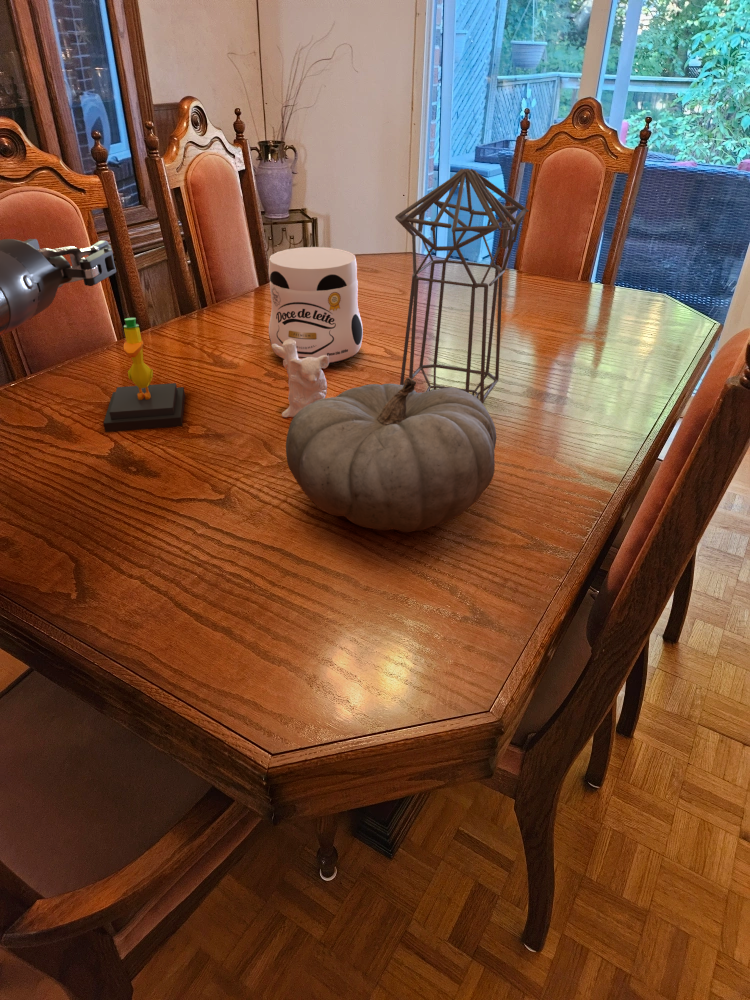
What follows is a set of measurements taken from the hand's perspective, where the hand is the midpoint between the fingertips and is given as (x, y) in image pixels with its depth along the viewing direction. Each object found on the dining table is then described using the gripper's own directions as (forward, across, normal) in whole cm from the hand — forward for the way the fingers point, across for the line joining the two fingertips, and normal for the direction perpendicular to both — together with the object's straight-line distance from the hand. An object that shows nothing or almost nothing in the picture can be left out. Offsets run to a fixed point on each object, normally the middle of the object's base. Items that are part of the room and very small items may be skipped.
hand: (71, 248), depth 79 cm
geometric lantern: (+18, +47, -28) cm, 58 cm away
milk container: (+39, +23, -28) cm, 53 cm away
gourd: (-10, +39, -28) cm, 49 cm away
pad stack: (+11, 0, -28) cm, 30 cm away
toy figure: (+11, 0, -25) cm, 27 cm away
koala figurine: (+14, +24, -28) cm, 40 cm away
